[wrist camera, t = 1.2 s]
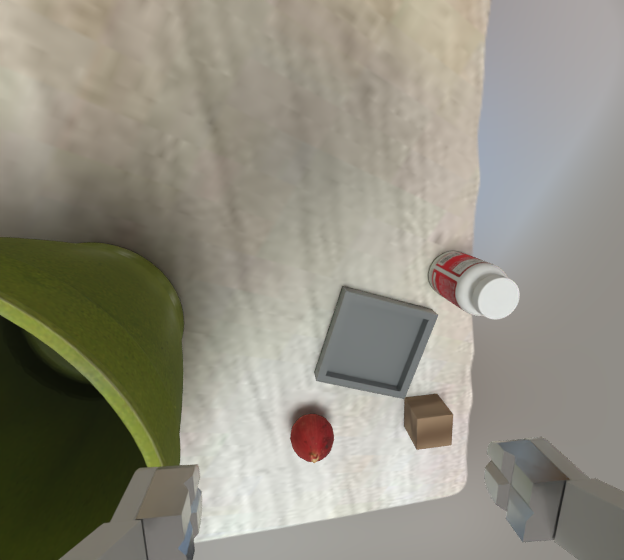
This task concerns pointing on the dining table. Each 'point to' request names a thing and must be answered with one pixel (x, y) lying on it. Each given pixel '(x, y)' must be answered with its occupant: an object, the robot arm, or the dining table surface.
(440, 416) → the walnut block
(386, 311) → the tray
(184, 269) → the dining table surface
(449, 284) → the pill bottle
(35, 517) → the plant pot
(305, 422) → the red round piece
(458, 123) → the dining table surface
